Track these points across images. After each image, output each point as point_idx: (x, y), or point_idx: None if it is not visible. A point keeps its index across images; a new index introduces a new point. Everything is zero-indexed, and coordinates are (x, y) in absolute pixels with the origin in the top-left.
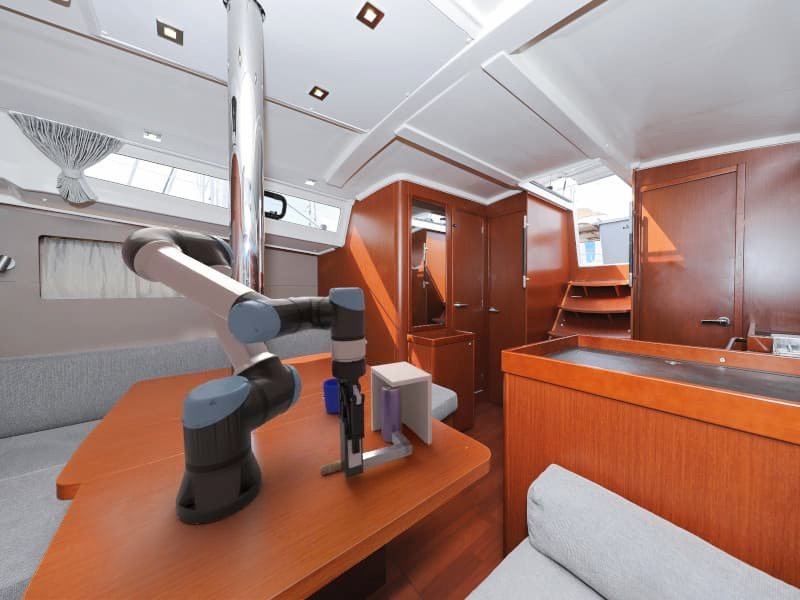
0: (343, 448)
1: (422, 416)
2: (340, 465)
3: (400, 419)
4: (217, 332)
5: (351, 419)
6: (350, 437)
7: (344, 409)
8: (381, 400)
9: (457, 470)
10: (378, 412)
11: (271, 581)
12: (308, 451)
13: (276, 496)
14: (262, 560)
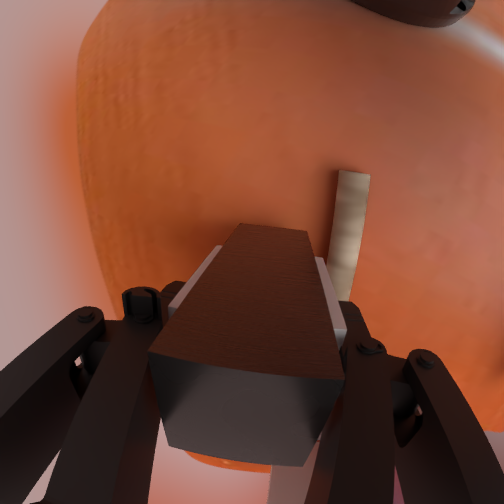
0: (246, 260)
1: (297, 490)
2: (333, 237)
3: None
4: None
5: (14, 395)
6: (129, 315)
7: (330, 472)
8: (399, 488)
9: None
10: None
11: (95, 35)
12: (476, 183)
13: (317, 30)
14: (137, 13)
